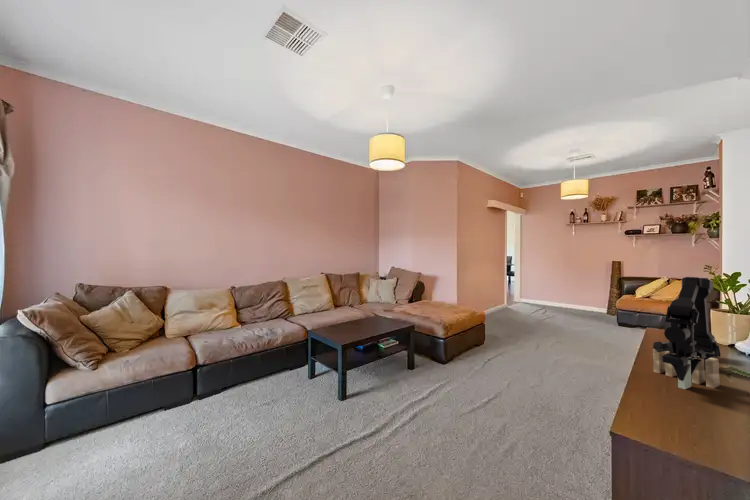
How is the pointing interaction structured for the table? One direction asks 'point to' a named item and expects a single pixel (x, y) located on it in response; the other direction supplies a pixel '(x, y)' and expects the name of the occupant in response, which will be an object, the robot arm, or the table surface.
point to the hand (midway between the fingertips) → (684, 378)
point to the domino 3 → (686, 379)
